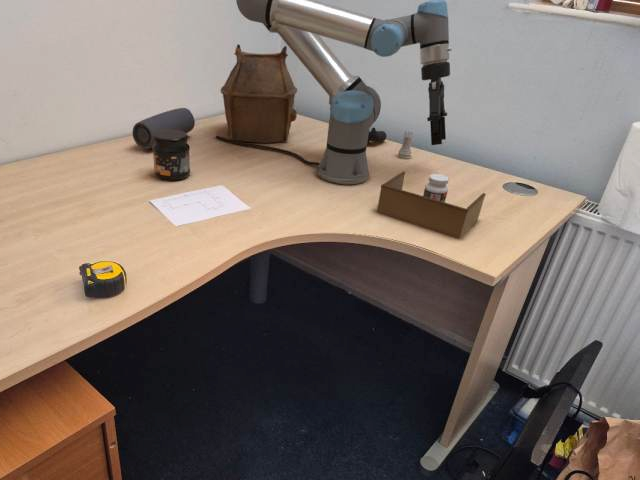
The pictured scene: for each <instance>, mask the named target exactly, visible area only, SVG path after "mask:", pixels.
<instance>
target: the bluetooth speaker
mask: <svg viewBox="0 0 640 480" xmlns="http://www.w3.org/2000/svg"><path fill="white" fill-rule="evenodd" d="M195 125H196V123H195V117H194V115H193V113H192V112H191V110H190V109H189V108H187V107H179V108H174V109H170V110H166V111H164V112H160V113H157V114H155V115H152V116H150V117H147V118H144V119H142V120H140V121H138V122H137V123H135V124H134V125H133V127H132V138H133V141H134V143H135V144H136V145H137V146H138V147H139V148H142V149H152V146H153V144H154V140H153V135H154V133H156V132H158V131H162V130H179V131H183V132H185V133H186V134H188V133H189V132H192V131H193V129H194V128H195Z"/></svg>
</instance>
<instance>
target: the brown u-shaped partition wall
mask: <svg viewBox="0 0 640 480" xmlns="http://www.w3.org/2000/svg"><path fill="white" fill-rule="evenodd" d="M405 175H406V171H401V172H400V173H398V174H397V175H395V176H393V177H392V178H390V179H389V180H387V181H385V182H384V183H382V184H380V185H381V186H380V191H379V198H378V203H377V209H376V213H378V214H383V215H386V216H388V217H392V218H395V219H398V220H401V221H405V222H408V223H410V224H414V225H417V226H419V227H423V228H426V229H429V230H432V231H434V232H438V233H442V234H445V235H447V236H451V237H454V238H457V239H461V238H462V237H463V236H464V235H465V234H466V233H467V232H468V231H469V230H470V229H471V228H472V227H473V226H474V225H475V224H476V223H477V222H478V220H479V218H480V217H479V216H480V214H481V210H482V207H483V204H484V200H485V197H486V193H484V192H483V193H481V194H480V195H479V196H478V197H477V198H476V199H475V200H474V201H473V202H472V203H470V204H469V205H468V206H467V207H466V208H465V207H463V206H459V205H456V204H451V203H448V202H446V201H445V202H441V201H438V200H435V199H431V198H428V197H424V196H423V195H421V194H417V193H414V192H411V191H407V190H404V189H403V185H404V181H405Z"/></svg>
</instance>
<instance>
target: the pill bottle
mask: <svg viewBox="0 0 640 480" xmlns="http://www.w3.org/2000/svg"><path fill="white" fill-rule="evenodd" d="M448 183H449V177H448V176H447V175H445V174H441V173H440V174H439V173H433V174H430V175H429V177H428V183H427V184H425V185H424V189H423V195H422V196H424V197H428V198H431V199H435V200H438V201H441V202H445V203H446V199H447V196H448V192H449V187H448V186H447V185H448Z"/></svg>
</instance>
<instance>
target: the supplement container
mask: <svg viewBox="0 0 640 480" xmlns="http://www.w3.org/2000/svg"><path fill="white" fill-rule="evenodd" d="M188 139H189V137H188V133H185V132H183V131H179V130H162V131H158V132H156V133H154V135H153V140H154V144H153V146H152V147H151V151H152V156H153V158H152V159H153V172H154V175H155V177H157V178H158V179H160V180H163V181H169V182H170V181H171V182H175V181H181V180H184V179H187V178H188V177H189V176H190V174H191V161H190V160H191V159H190V157H191V156H190V148H191V147H190V145H189V143H188V141H189V140H188Z"/></svg>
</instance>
